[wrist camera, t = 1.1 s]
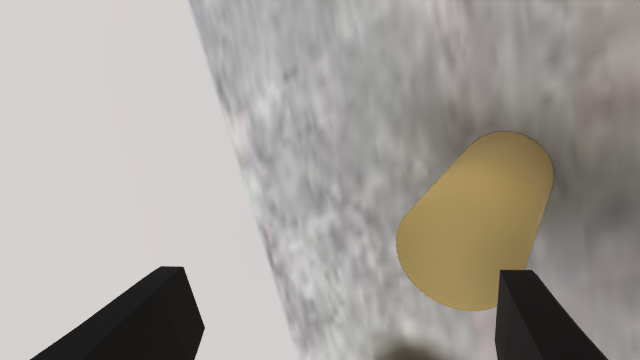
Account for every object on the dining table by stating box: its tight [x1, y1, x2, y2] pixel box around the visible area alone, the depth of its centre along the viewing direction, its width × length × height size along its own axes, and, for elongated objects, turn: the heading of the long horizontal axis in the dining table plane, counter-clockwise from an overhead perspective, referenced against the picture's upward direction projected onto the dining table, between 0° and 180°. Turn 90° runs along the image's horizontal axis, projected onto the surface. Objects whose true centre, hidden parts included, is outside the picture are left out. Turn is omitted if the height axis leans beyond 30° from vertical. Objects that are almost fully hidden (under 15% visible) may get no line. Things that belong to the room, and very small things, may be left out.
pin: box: [396, 131, 554, 311], centre depth 15 cm, size 4×4×7 cm
